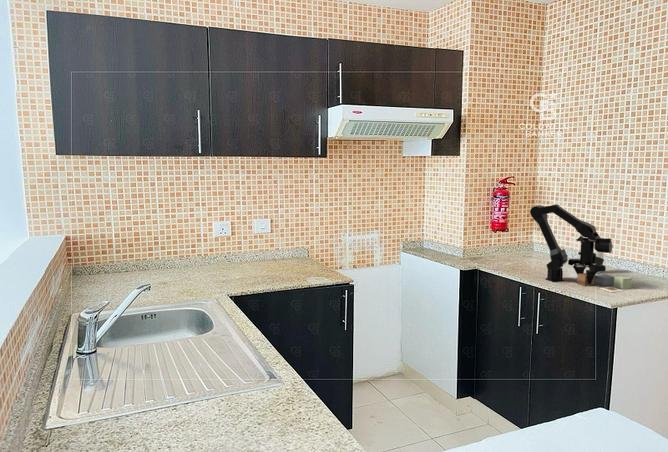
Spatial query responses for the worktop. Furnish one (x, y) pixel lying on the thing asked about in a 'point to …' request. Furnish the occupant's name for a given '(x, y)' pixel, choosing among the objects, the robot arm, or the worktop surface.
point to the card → (611, 289)
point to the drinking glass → (599, 255)
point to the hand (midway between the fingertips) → (585, 282)
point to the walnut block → (584, 280)
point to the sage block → (622, 282)
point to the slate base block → (604, 279)
